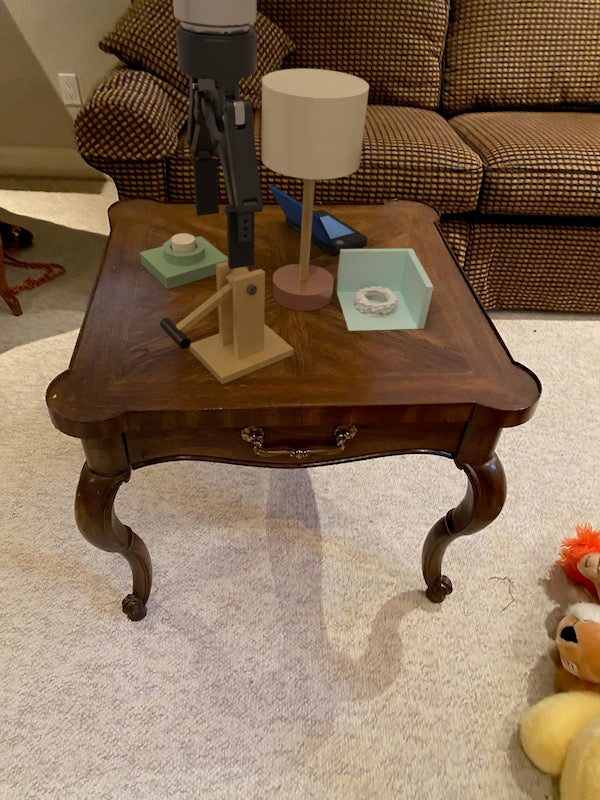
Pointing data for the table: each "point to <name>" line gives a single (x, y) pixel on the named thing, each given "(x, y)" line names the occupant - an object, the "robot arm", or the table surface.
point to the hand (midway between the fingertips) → (223, 238)
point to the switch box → (182, 263)
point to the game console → (320, 225)
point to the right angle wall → (383, 289)
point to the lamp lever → (199, 312)
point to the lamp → (310, 158)
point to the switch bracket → (241, 330)
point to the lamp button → (183, 243)
